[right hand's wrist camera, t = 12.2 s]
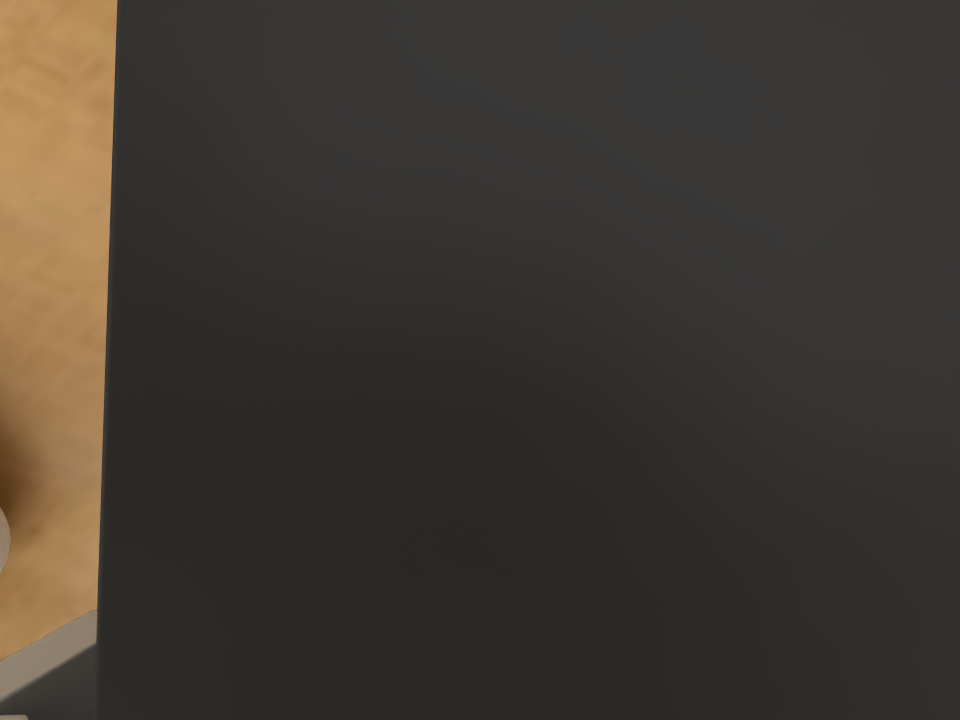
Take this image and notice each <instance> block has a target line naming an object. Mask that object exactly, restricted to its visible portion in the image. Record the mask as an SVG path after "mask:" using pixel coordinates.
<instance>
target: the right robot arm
mask: <svg viewBox="0 0 960 720" xmlns="http://www.w3.org/2000/svg"><path fill="white" fill-rule="evenodd" d="M96 634H97V611H90V612H88V613H86V614H85V615H83V616H81V617H79V618H77V619H75V620H74V621H72V622H70V623H68V624H66V625H65V626H63V627H61V628H59V629H57V630H56V631H54V632H52V633H50V634H48V635H46V636H45V637H43V638H41V639H39V640H37V641H36V642H34V643H32V644H30V645H28V646H27V647H25V648H23V649H21V650H19V651H18V652H16V653H14V654H12V655H10V656H8V657H7V658H5V659H3V660H1V661H0V720H94V694H95V664H96Z"/></svg>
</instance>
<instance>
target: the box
mask: <svg viewBox="0 0 960 720" xmlns="http://www.w3.org/2000/svg"><path fill="white" fill-rule="evenodd" d="M94 720H960V0H118V1H117V31H116V61H115V92H114V122H113V152H112V182H111V212H110V242H109V272H108V302H107V333H106V363H105V393H104V423H103V453H102V483H101V513H100V544H99V574H98V604H97V634H96V664H95V694H94Z"/></svg>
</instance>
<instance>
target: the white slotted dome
mask: <svg viewBox="0 0 960 720" xmlns="http://www.w3.org/2000/svg"><path fill="white" fill-rule="evenodd" d="M10 547H11V535H10V528H9V525H8V522H7V519H6V517H5V515H4V513H3V511H2V509H1V508H0V573H1V572H2V570H3V568H4V566H5V564H6V562H7V559H8V556H9V552H10Z"/></svg>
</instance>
